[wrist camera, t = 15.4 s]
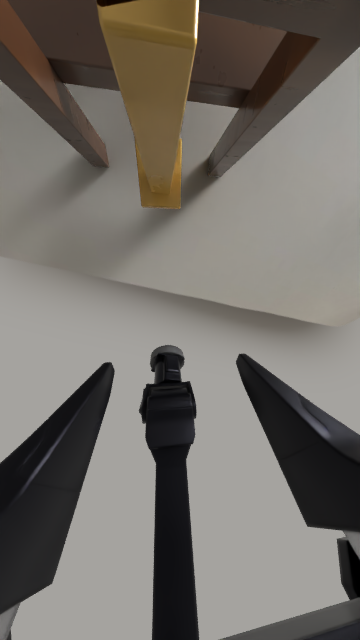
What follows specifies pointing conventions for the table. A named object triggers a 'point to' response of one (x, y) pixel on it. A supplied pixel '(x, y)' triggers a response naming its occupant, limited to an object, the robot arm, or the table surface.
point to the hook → (153, 84)
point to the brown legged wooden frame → (207, 71)
